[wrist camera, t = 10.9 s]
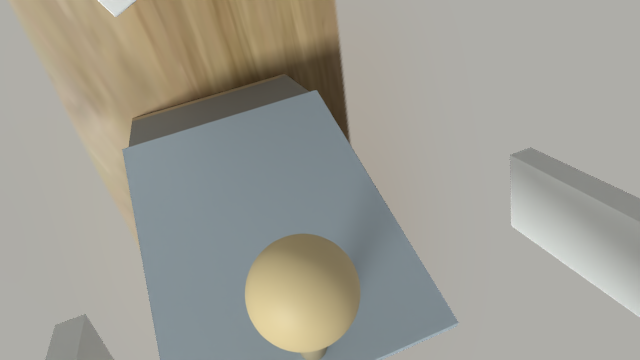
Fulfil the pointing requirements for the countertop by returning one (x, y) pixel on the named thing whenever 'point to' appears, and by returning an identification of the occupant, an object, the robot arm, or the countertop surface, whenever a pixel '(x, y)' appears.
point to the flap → (275, 243)
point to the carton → (213, 108)
